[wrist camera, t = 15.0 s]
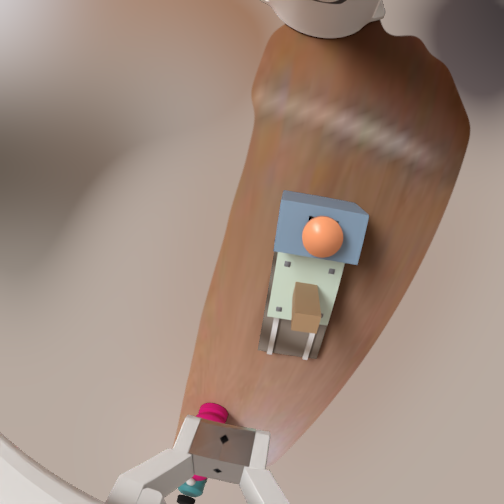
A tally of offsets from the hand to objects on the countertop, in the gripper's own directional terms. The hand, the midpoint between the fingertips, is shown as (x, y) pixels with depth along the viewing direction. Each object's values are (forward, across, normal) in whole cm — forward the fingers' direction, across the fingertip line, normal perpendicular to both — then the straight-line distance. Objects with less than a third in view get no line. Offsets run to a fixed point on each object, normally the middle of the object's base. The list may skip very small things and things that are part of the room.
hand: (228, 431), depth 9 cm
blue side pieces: (+33, -5, -1) cm, 33 cm away
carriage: (+31, -5, +8) cm, 32 cm away
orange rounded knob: (+28, -5, -1) cm, 29 cm away
